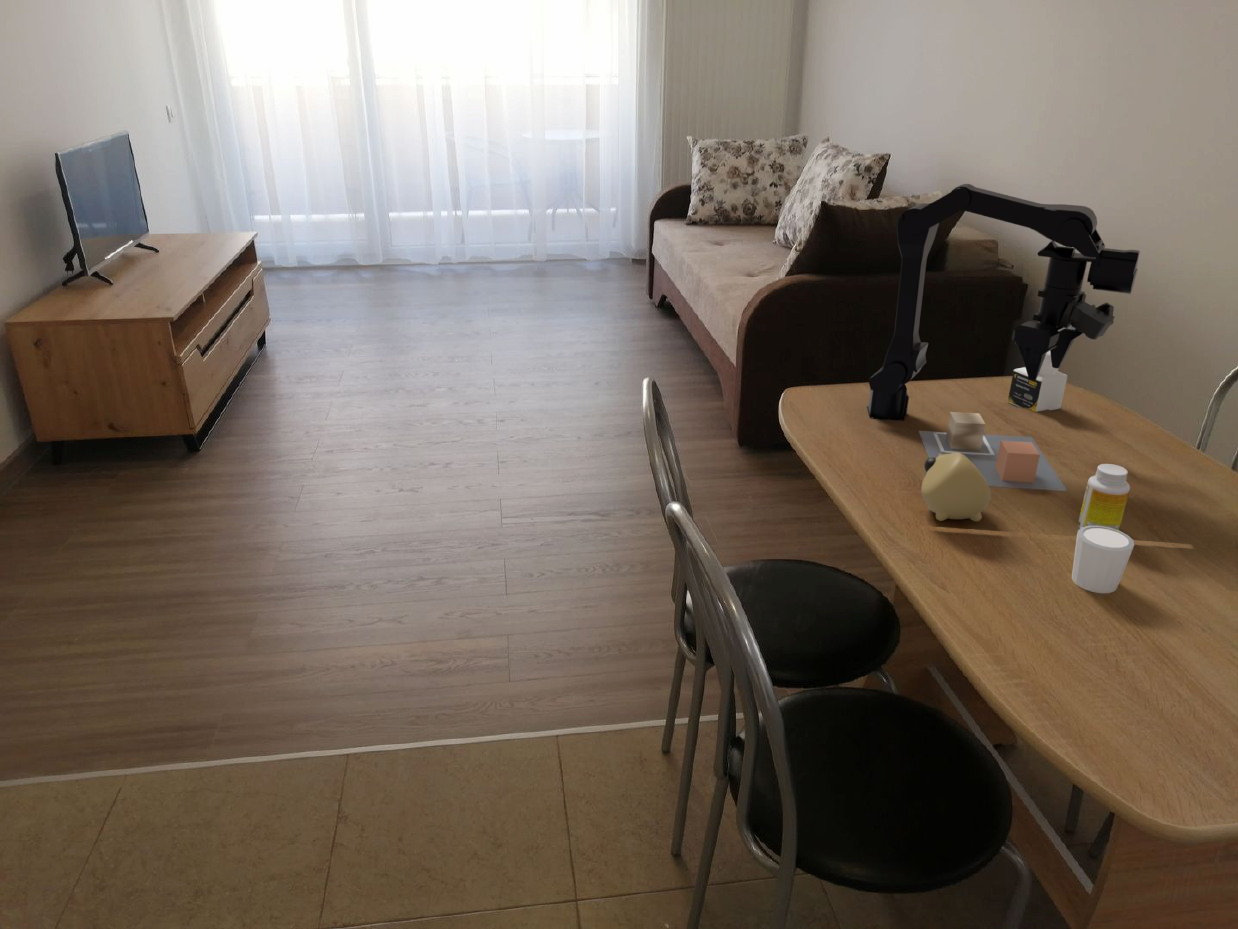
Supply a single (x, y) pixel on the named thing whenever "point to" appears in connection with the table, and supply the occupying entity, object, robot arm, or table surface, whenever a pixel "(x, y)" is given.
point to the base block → (965, 431)
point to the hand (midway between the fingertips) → (1044, 373)
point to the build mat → (994, 460)
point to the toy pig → (954, 487)
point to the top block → (1017, 461)
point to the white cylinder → (1100, 558)
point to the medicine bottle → (1038, 388)
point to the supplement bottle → (1105, 497)
